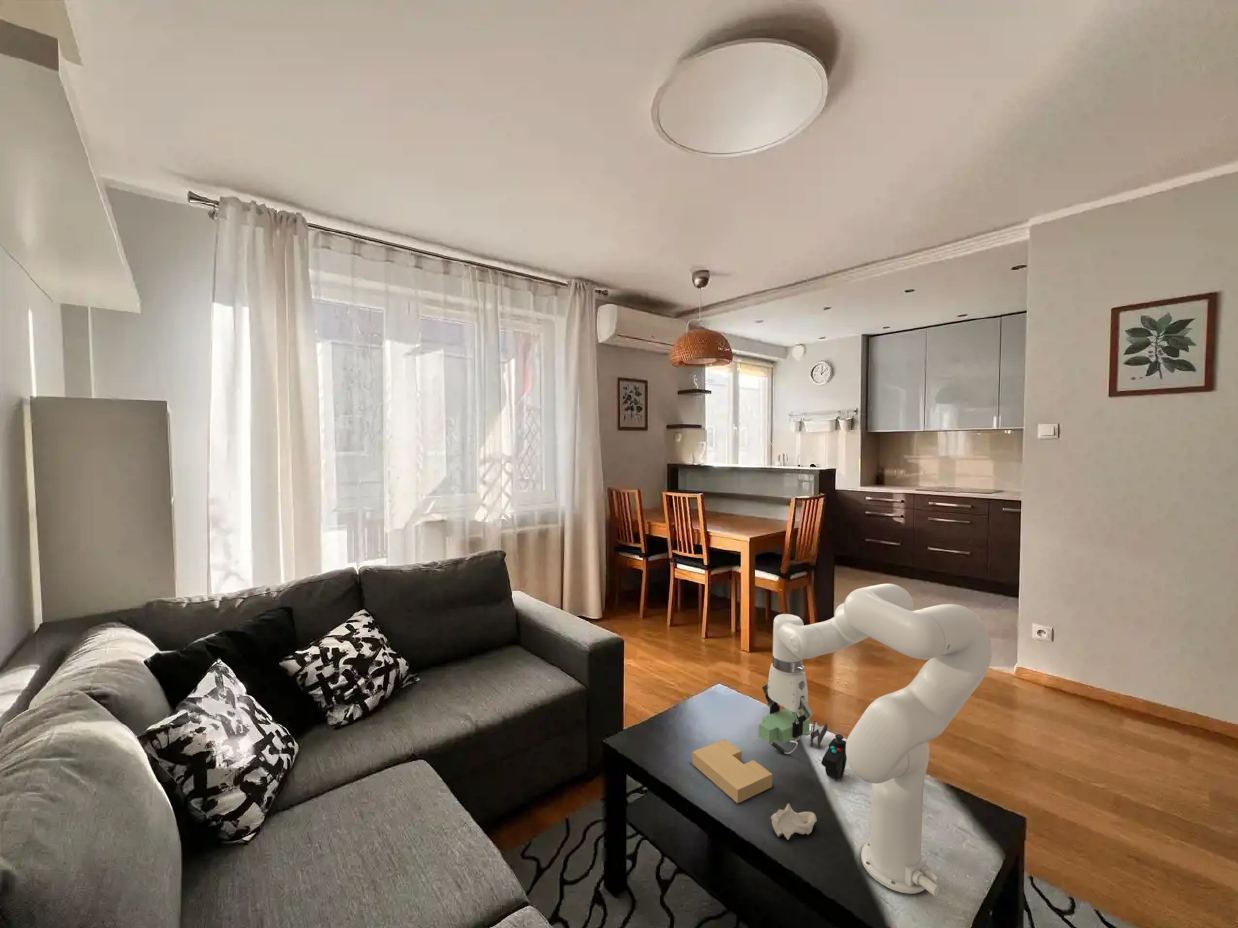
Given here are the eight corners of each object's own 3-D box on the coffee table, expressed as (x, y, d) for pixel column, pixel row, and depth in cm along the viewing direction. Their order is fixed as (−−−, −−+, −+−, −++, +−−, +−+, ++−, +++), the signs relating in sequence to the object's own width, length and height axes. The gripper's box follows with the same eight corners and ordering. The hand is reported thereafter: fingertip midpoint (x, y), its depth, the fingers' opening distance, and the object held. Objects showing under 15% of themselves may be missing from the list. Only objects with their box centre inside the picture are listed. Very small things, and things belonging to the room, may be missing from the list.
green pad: (809, 732, 135) (809, 719, 135) (774, 747, 129) (774, 733, 128) (788, 719, 141) (788, 706, 141) (753, 733, 135) (754, 720, 134)
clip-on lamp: (799, 773, 143) (830, 735, 155) (799, 754, 142) (831, 718, 153) (763, 750, 152) (795, 716, 163) (762, 732, 150) (794, 699, 162)
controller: (849, 769, 140) (850, 734, 140) (836, 794, 131) (837, 756, 130) (833, 763, 143) (834, 728, 143) (819, 787, 133) (819, 749, 133)
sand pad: (772, 786, 134) (772, 773, 133) (737, 803, 127) (737, 789, 127) (724, 750, 149) (725, 738, 149) (692, 763, 143) (692, 751, 143)
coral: (820, 831, 118) (821, 812, 118) (785, 846, 114) (786, 827, 114) (802, 814, 124) (802, 797, 123) (768, 828, 119) (768, 810, 119)
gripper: (825, 673, 129) (822, 741, 130) (772, 647, 144) (770, 709, 145) (804, 680, 125) (802, 750, 126) (752, 653, 140) (751, 716, 141)
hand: (785, 727), depth 136 cm, fingers closed on green pad, 7 cm apart
